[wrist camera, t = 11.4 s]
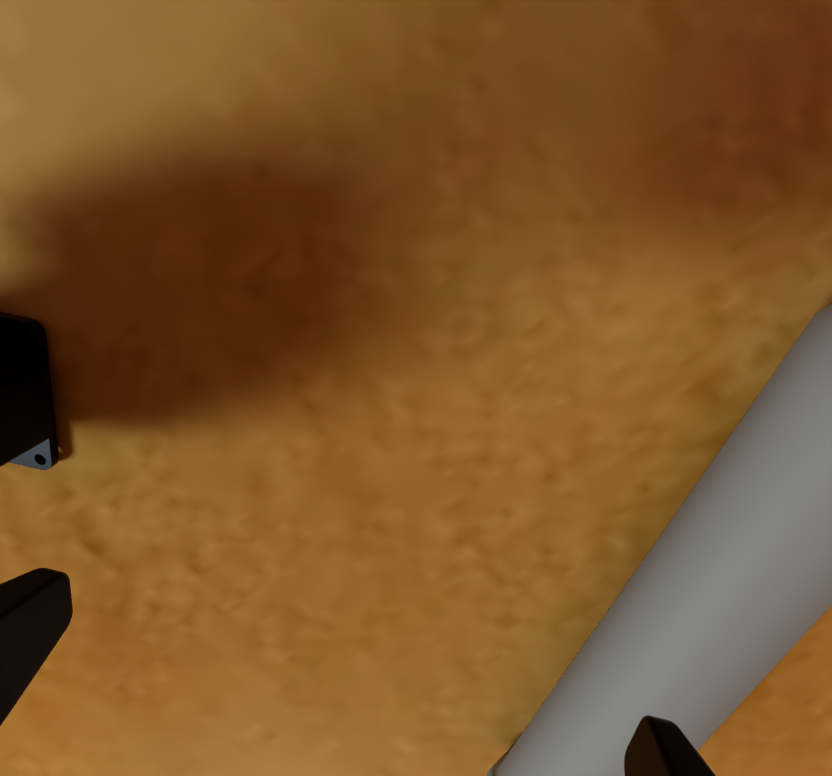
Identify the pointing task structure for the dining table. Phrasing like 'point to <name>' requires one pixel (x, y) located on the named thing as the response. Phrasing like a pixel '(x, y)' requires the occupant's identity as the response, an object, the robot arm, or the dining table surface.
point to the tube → (708, 586)
